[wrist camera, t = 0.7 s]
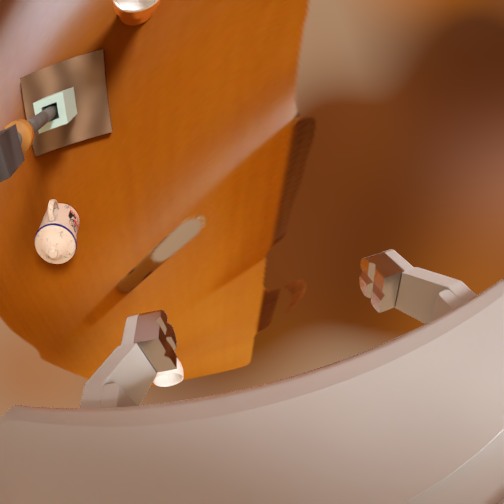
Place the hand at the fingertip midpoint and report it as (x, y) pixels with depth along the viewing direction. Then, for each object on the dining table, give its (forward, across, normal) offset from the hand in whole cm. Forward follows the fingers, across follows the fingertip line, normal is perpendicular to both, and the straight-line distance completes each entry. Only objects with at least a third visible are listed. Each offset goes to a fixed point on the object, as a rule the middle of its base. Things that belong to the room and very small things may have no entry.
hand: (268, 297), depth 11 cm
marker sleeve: (+37, +23, -16) cm, 47 cm away
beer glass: (+40, +8, -29) cm, 51 cm away
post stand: (+40, +24, -17) cm, 50 cm away
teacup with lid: (+44, +34, +4) cm, 55 cm away
